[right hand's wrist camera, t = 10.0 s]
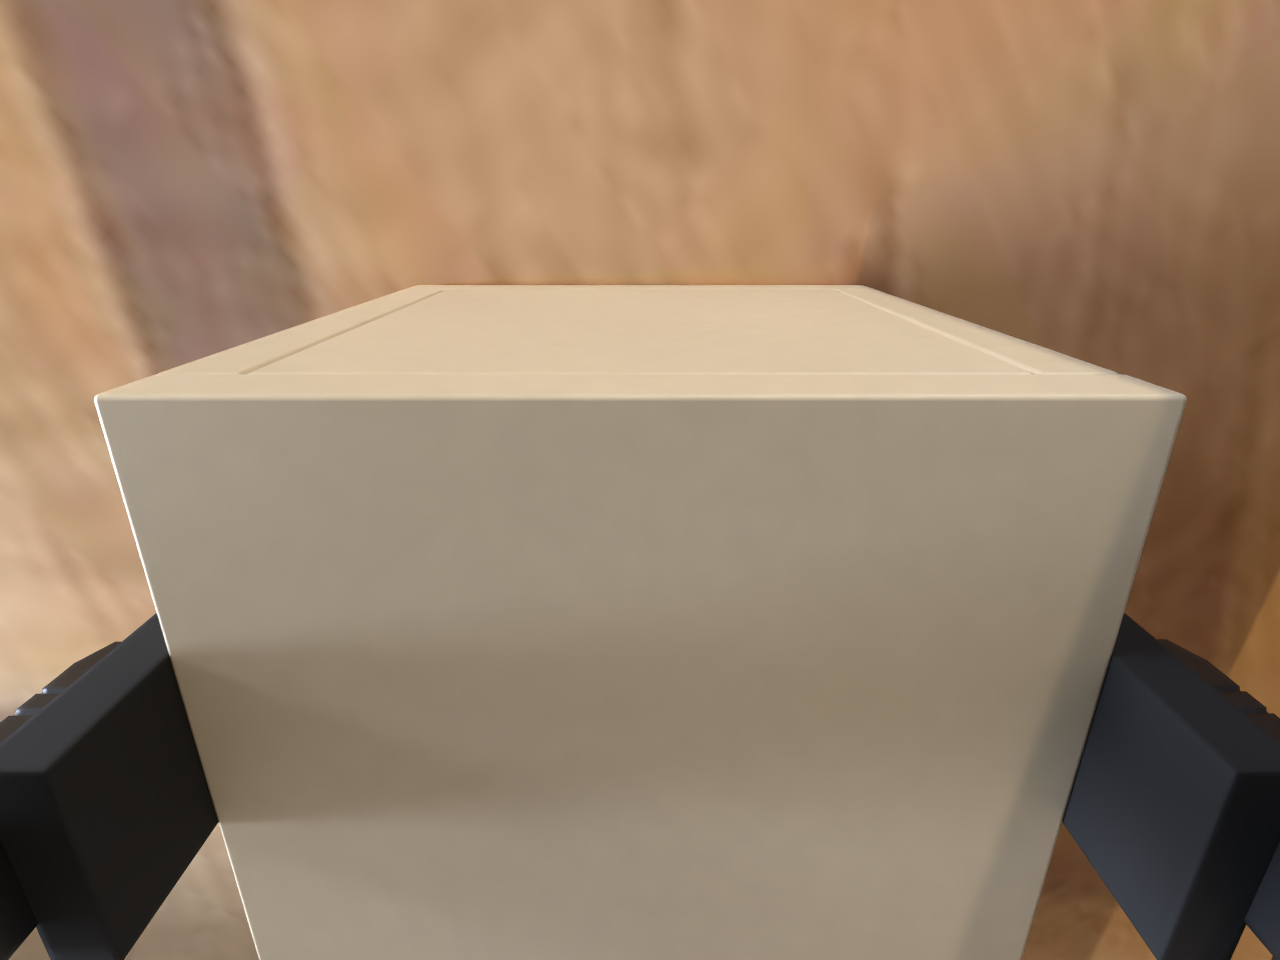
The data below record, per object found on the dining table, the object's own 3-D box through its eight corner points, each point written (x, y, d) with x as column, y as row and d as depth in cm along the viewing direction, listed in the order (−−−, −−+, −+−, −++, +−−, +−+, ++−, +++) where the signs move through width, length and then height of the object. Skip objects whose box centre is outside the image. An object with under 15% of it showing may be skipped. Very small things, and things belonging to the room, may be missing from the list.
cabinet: (798, 872, 25) (910, 1341, 15) (481, 872, 25) (370, 1341, 15) (866, 284, 18) (1191, 395, 7) (414, 284, 18) (89, 395, 7)
